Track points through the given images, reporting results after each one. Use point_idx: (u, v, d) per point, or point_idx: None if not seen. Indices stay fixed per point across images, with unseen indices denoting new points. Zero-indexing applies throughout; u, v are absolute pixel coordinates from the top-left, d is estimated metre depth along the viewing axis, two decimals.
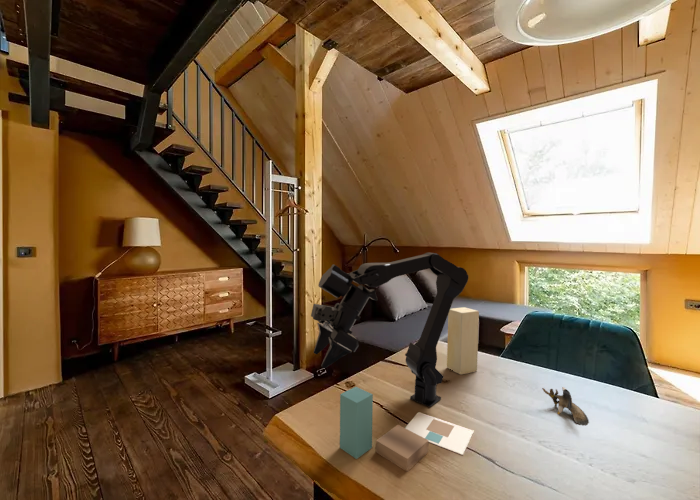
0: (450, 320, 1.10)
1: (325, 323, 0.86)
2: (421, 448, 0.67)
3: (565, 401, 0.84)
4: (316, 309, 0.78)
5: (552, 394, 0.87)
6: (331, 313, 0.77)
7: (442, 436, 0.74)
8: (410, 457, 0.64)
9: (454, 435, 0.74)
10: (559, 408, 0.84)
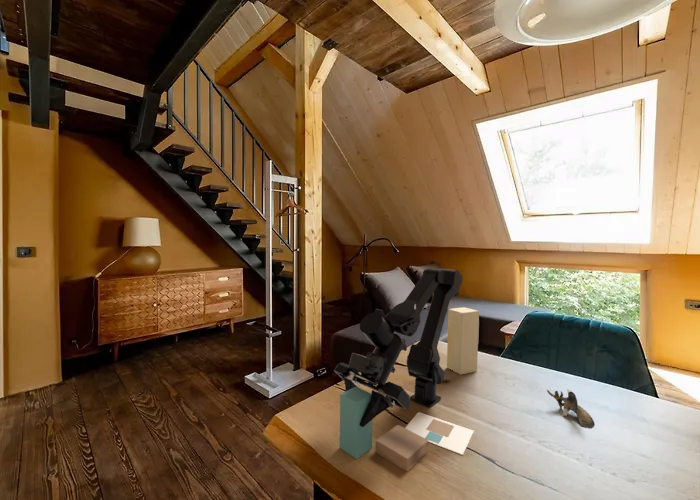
0: (450, 320, 1.10)
1: (354, 377, 0.74)
2: (421, 448, 0.67)
3: (570, 403, 0.82)
4: (364, 360, 0.68)
5: (557, 396, 0.86)
6: (381, 365, 0.68)
7: (442, 436, 0.74)
8: (410, 457, 0.64)
9: (454, 435, 0.74)
10: (564, 410, 0.83)
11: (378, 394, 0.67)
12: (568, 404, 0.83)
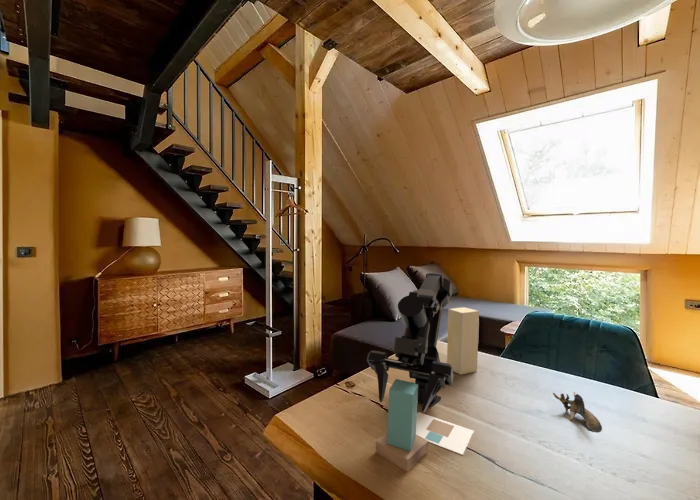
0: (450, 320, 1.10)
1: (383, 361, 0.73)
2: (421, 449, 0.67)
3: (577, 406, 0.81)
4: (413, 342, 0.67)
5: (563, 399, 0.85)
6: (427, 345, 0.69)
7: (442, 436, 0.74)
8: (410, 458, 0.64)
9: (454, 435, 0.74)
10: (571, 414, 0.81)
11: (438, 376, 0.66)
12: (575, 407, 0.81)
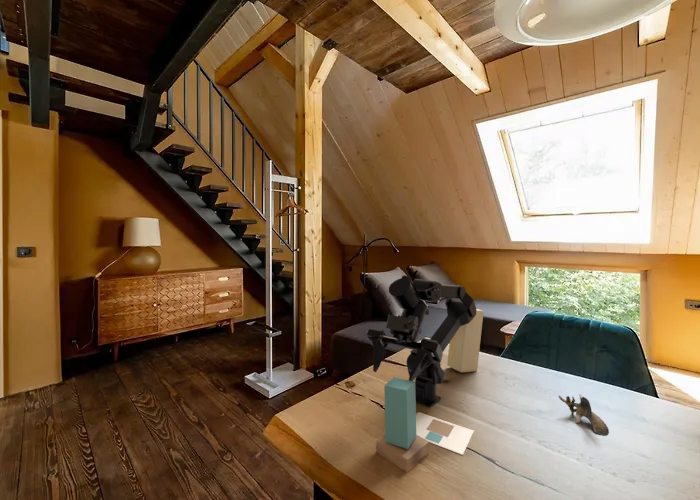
0: None
1: (380, 338, 0.81)
2: (422, 449, 0.66)
3: (583, 410, 0.80)
4: (403, 319, 0.74)
5: (569, 402, 0.83)
6: (417, 323, 0.75)
7: (442, 436, 0.74)
8: (410, 458, 0.64)
9: (454, 435, 0.74)
10: (577, 417, 0.80)
11: (424, 351, 0.72)
12: (581, 410, 0.80)
